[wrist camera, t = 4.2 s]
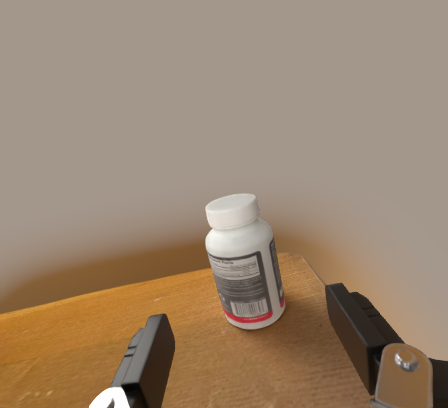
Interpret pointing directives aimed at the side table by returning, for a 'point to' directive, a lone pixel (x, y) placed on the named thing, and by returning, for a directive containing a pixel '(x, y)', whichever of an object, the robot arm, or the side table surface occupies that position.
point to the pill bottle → (244, 262)
